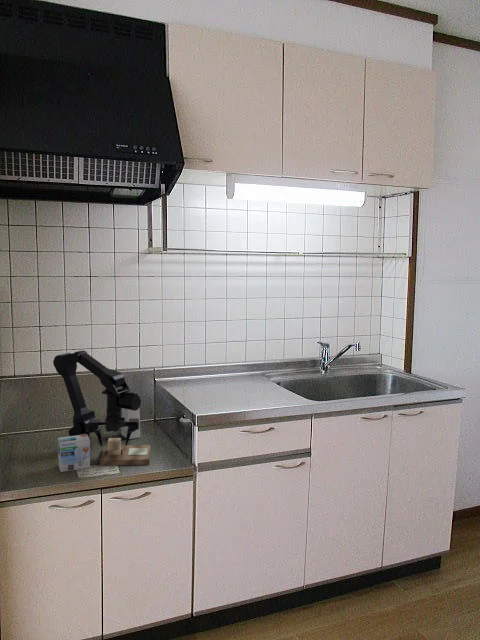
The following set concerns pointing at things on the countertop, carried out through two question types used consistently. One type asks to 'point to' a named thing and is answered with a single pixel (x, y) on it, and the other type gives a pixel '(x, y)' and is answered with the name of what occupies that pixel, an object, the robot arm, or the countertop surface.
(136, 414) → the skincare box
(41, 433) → the countertop surface
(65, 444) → the light bulb box
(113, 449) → the maple block
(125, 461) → the pocket board
